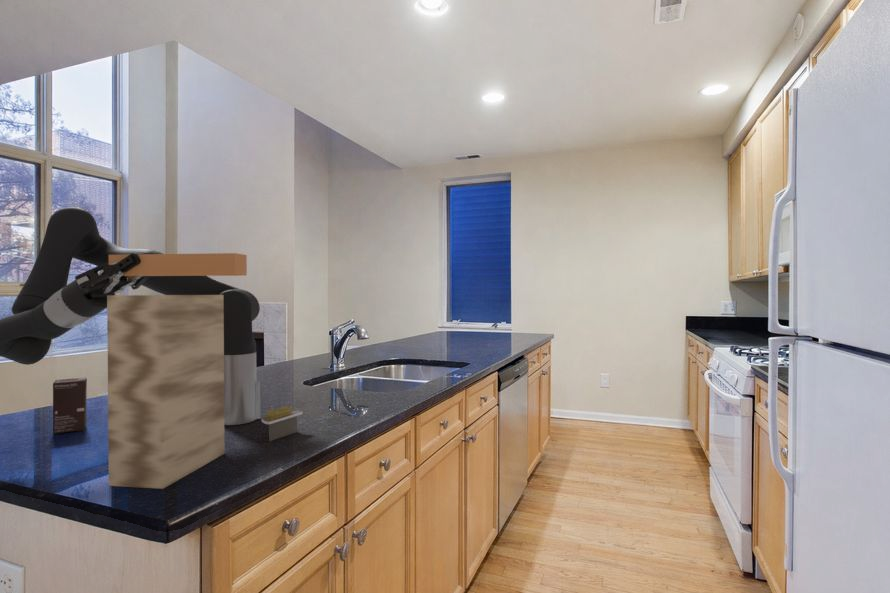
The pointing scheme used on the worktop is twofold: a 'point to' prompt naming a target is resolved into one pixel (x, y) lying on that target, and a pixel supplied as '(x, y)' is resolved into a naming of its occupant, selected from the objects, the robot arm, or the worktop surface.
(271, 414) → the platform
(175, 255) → the rail
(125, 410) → the tall wooden block
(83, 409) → the box
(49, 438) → the worktop surface
